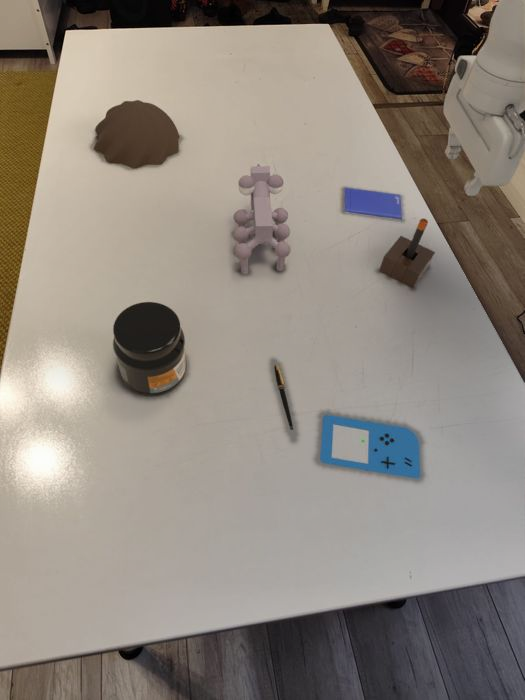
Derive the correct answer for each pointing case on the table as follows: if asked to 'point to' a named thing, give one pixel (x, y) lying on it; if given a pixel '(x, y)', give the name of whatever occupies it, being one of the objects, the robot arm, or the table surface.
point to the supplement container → (149, 348)
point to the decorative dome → (136, 135)
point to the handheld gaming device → (376, 447)
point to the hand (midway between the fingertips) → (459, 174)
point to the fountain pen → (283, 394)
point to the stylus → (416, 238)
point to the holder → (406, 262)
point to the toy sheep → (261, 217)
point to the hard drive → (373, 203)
